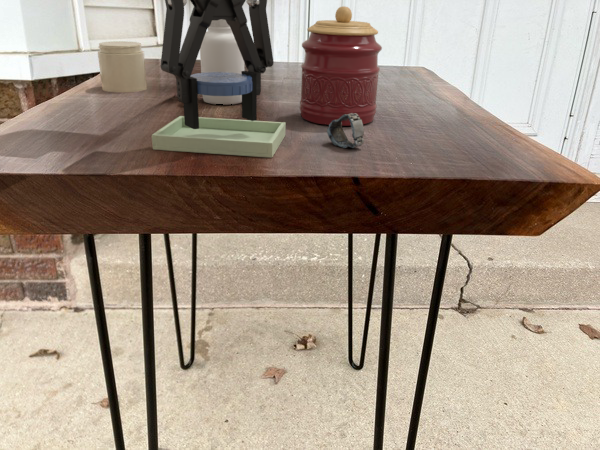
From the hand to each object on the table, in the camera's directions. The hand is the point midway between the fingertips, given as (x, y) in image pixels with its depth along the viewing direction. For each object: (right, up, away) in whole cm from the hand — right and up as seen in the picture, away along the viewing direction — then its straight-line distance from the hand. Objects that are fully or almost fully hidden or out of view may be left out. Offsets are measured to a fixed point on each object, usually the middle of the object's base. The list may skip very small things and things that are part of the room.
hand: (221, 122), depth 73 cm
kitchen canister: (+17, +4, +17) cm, 24 cm away
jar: (-22, +9, +25) cm, 35 cm away
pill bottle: (-4, +9, +26) cm, 28 cm away
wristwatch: (+17, -3, +1) cm, 17 cm away
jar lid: (0, +5, -2) cm, 6 cm away
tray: (0, -3, +1) cm, 3 cm away
